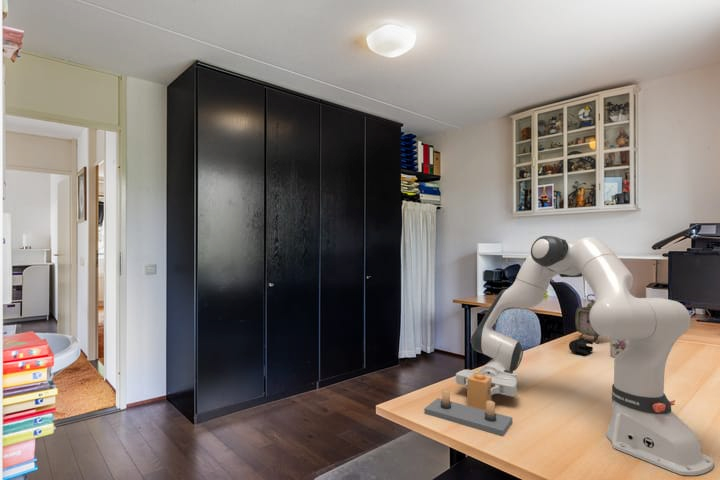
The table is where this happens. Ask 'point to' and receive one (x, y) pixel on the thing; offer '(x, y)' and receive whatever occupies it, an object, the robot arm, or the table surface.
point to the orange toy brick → (478, 390)
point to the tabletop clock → (585, 320)
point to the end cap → (581, 347)
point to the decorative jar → (617, 346)
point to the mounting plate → (469, 414)
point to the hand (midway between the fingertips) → (478, 389)
